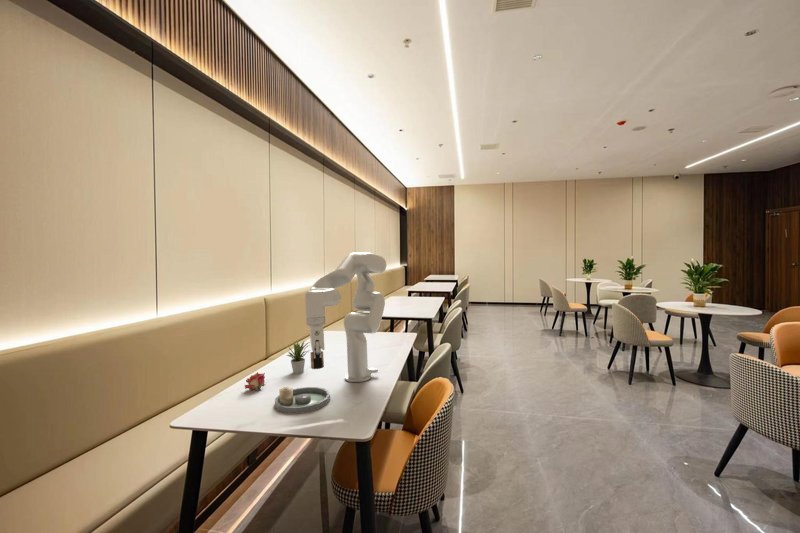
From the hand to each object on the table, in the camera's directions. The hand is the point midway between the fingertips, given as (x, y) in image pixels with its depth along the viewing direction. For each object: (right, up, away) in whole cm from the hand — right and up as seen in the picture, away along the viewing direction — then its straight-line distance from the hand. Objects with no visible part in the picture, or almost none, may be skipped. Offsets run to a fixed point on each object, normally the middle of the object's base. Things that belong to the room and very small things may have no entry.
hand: (317, 365), depth 144 cm
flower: (-31, -16, +16) cm, 39 cm away
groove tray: (-5, -15, -1) cm, 16 cm away
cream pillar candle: (-11, -14, -3) cm, 19 cm away
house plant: (-18, -15, +40) cm, 46 cm away
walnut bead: (0, -1, 0) cm, 1 cm away
